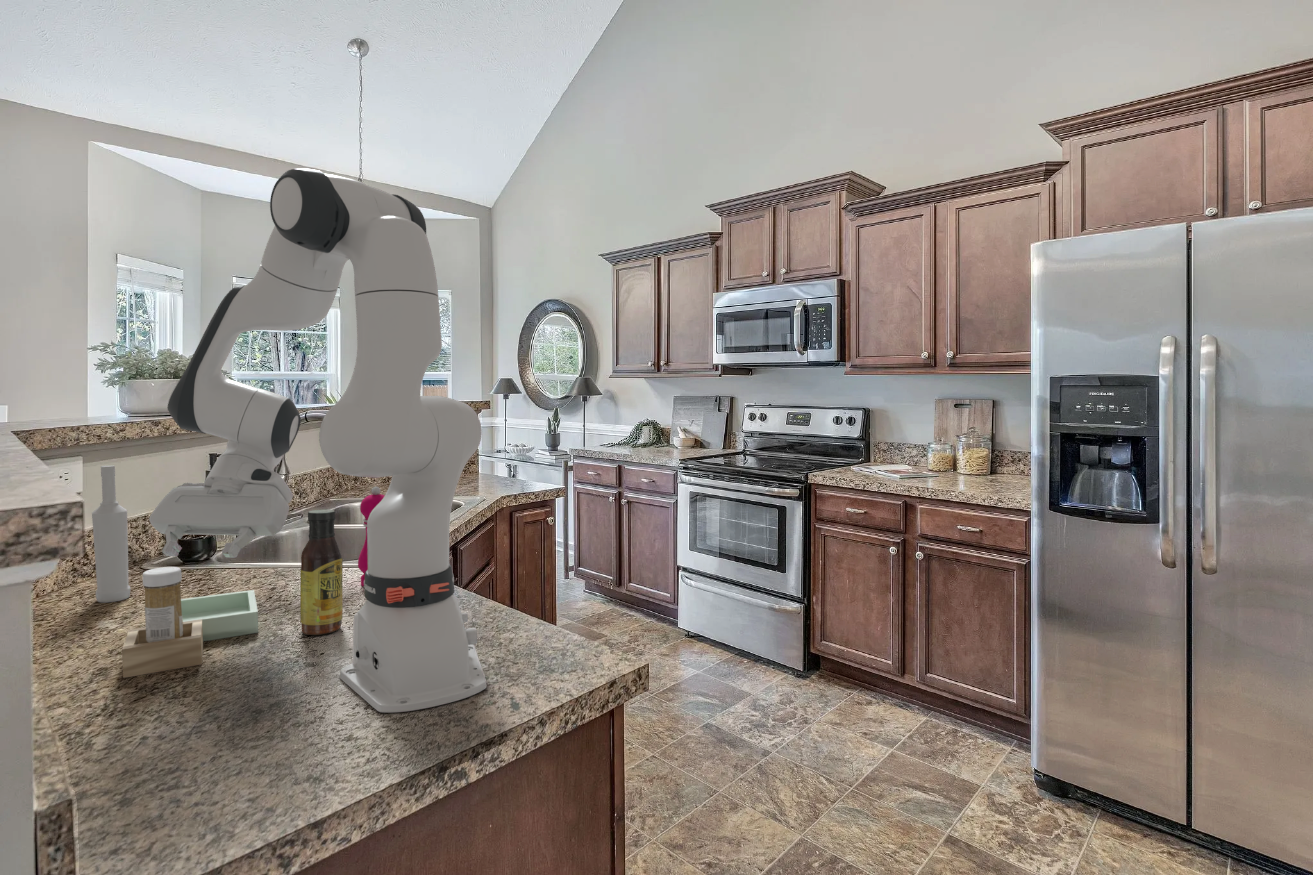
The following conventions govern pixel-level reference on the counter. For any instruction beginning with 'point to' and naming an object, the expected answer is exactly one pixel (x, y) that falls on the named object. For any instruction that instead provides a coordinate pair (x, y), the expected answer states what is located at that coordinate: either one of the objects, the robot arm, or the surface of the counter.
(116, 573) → the bottle
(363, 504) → the pepper mill
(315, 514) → the sauce bottle
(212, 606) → the sage tray
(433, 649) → the robot arm
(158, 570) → the sprinkles bottle
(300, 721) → the counter surface
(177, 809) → the counter surface
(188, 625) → the maple holder
